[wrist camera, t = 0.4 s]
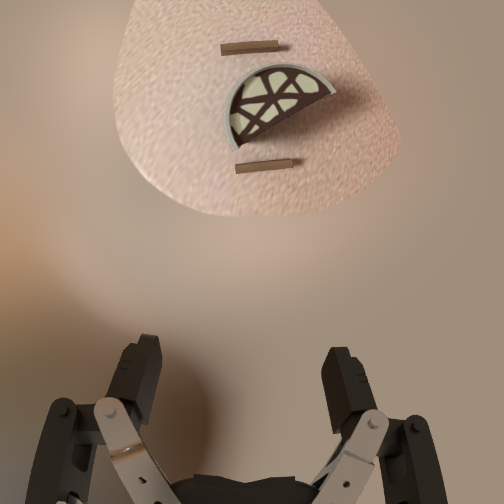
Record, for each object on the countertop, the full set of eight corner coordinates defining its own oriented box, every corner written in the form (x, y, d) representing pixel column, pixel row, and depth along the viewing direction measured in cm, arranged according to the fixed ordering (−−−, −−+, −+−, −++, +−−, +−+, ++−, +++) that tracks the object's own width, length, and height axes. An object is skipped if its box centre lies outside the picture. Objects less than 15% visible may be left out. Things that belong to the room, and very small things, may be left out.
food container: (286, 64, 29) (306, 39, 20) (311, 101, 31) (341, 89, 22) (204, 111, 31) (195, 100, 22) (232, 149, 33) (233, 152, 24)
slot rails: (220, 49, 28) (220, 44, 26) (275, 45, 28) (277, 40, 26) (235, 172, 34) (236, 173, 32) (289, 166, 35) (292, 167, 33)
